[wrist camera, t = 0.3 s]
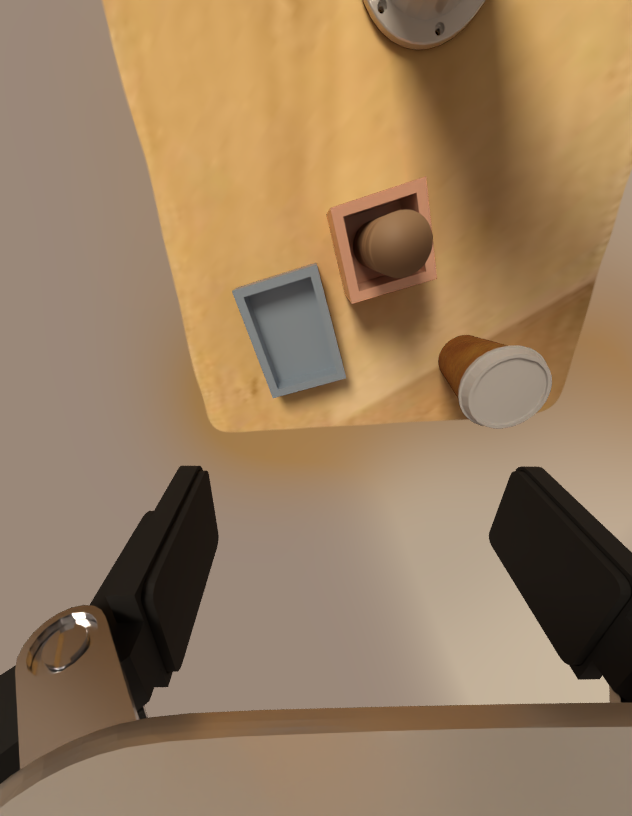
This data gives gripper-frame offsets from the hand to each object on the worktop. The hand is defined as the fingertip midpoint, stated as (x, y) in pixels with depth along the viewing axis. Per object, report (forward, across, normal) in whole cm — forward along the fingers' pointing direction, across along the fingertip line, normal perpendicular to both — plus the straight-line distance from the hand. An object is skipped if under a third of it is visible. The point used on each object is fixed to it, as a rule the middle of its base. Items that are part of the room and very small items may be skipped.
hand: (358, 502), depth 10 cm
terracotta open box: (+35, -6, -7) cm, 36 cm away
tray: (+35, +3, +3) cm, 35 cm away
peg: (+34, -6, -7) cm, 35 cm away
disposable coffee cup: (+35, -20, +6) cm, 41 cm away
